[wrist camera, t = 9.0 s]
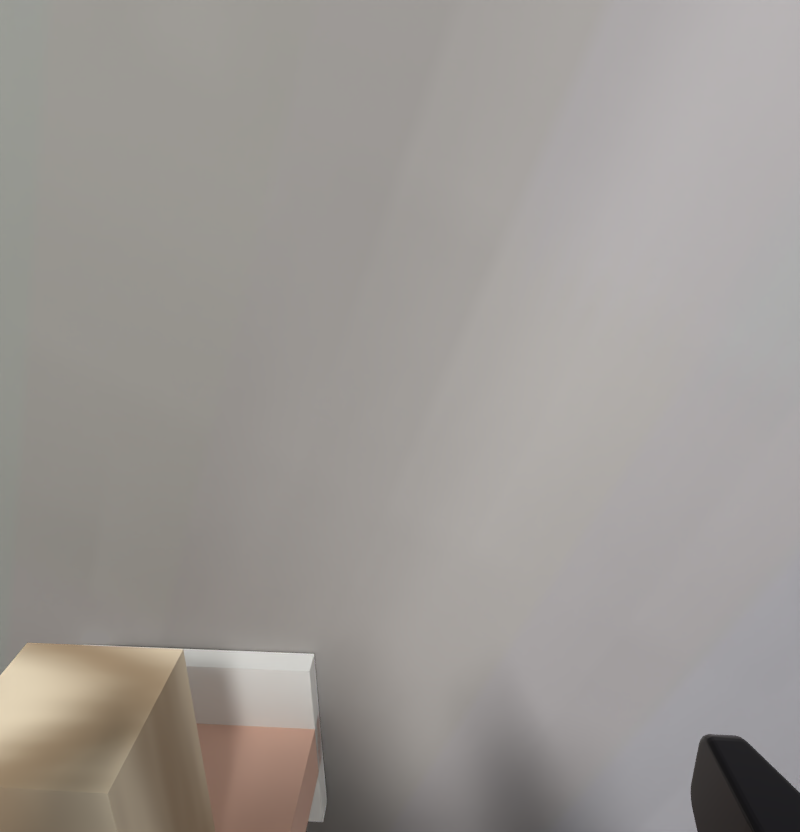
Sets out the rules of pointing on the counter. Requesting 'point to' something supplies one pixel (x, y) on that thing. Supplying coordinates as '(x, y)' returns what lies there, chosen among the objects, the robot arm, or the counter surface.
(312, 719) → the fulcrum
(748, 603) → the counter surface
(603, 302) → the counter surface
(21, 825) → the beam
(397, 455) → the counter surface
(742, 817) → the robot arm
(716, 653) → the counter surface
